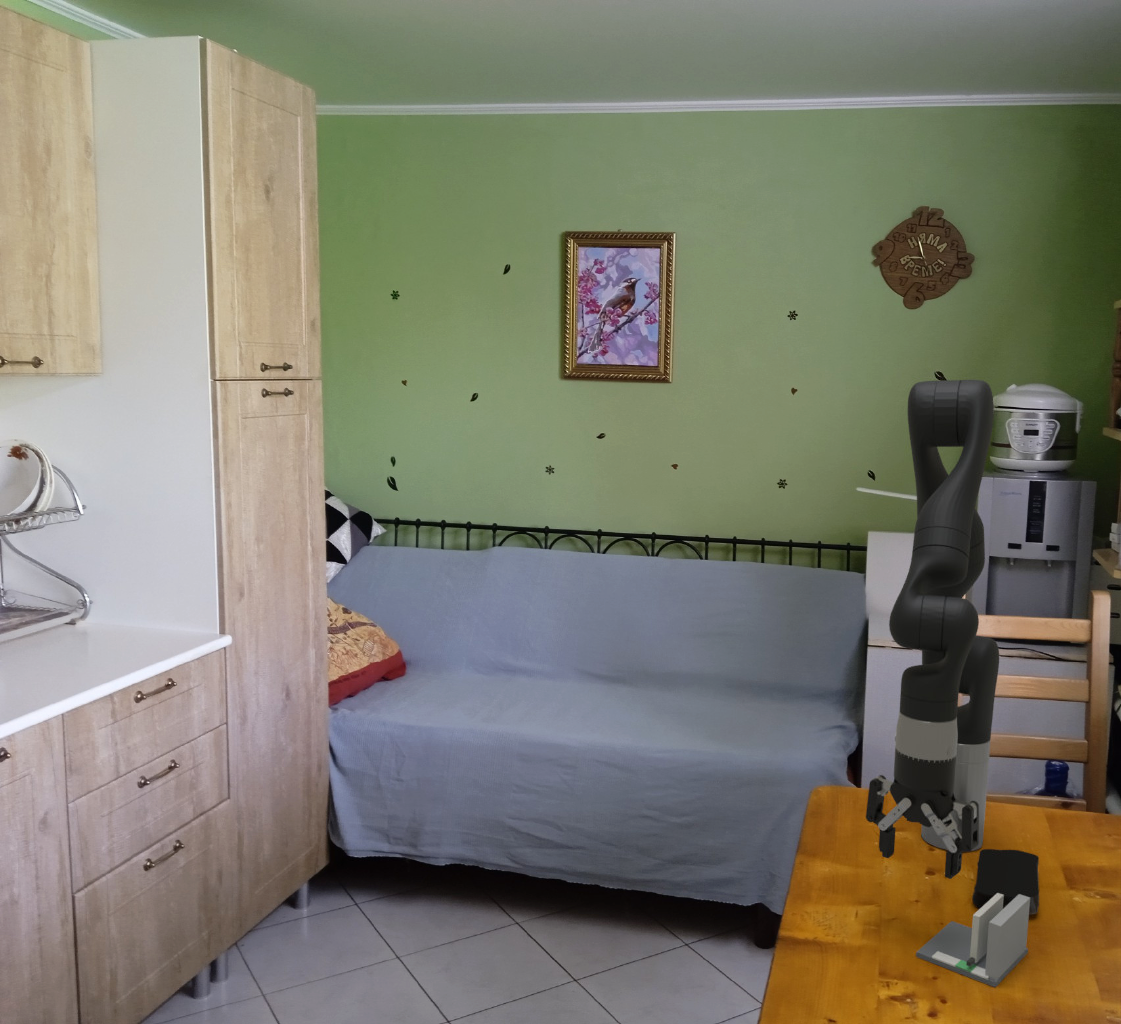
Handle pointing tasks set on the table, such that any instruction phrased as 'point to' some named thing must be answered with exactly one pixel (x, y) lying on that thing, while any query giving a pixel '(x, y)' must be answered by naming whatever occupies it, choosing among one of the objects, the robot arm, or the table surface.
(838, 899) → the table surface
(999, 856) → the black sponge
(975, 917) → the panel
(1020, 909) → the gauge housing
